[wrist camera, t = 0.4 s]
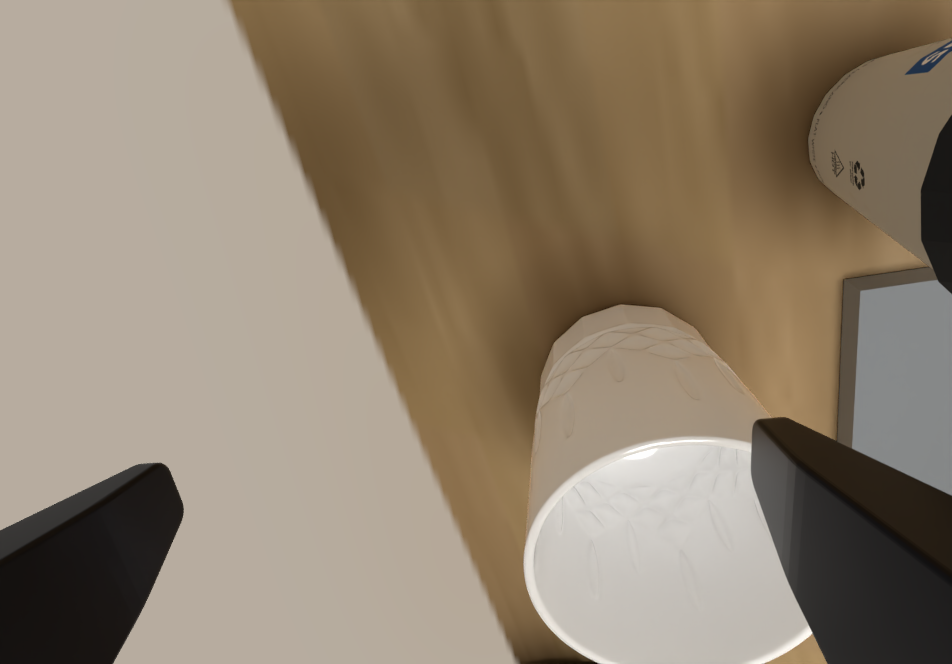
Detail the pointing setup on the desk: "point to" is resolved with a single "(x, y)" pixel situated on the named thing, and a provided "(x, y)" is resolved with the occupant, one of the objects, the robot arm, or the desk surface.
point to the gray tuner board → (898, 373)
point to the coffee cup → (894, 148)
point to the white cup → (651, 501)
